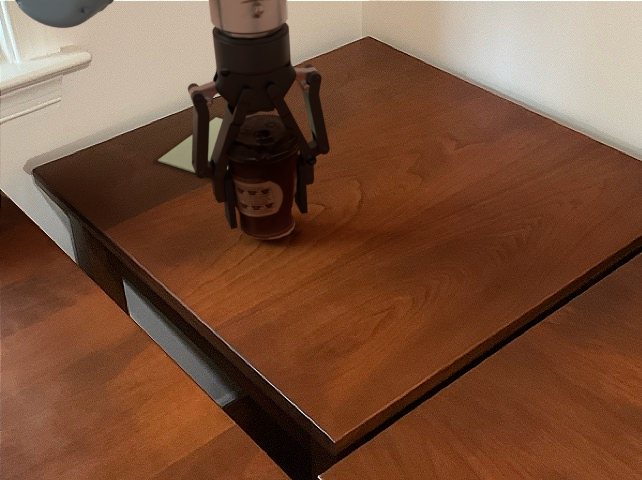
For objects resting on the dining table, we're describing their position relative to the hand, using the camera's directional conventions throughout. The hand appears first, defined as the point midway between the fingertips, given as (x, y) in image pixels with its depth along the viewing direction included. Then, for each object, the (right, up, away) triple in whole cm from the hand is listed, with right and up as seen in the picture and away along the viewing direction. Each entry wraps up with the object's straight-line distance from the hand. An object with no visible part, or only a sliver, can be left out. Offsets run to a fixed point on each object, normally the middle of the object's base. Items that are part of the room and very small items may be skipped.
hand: (266, 214), depth 94 cm
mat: (-7, +10, +16) cm, 20 cm away
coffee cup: (0, -1, +1) cm, 2 cm away
